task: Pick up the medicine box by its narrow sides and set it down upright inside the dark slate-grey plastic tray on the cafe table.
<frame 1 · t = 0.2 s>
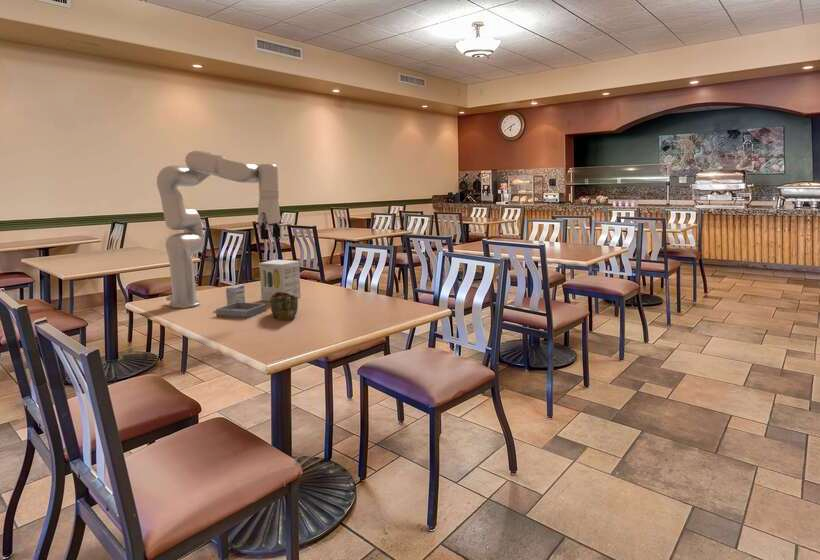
hand: (270, 238, 212), 31 cm above the table, fingers open, 9 cm apart
cup: (283, 317, 209), on the table
supplement box: (281, 299, 244), on the table
tray: (241, 313, 214), on the table
medicine box: (236, 306, 229), on the table
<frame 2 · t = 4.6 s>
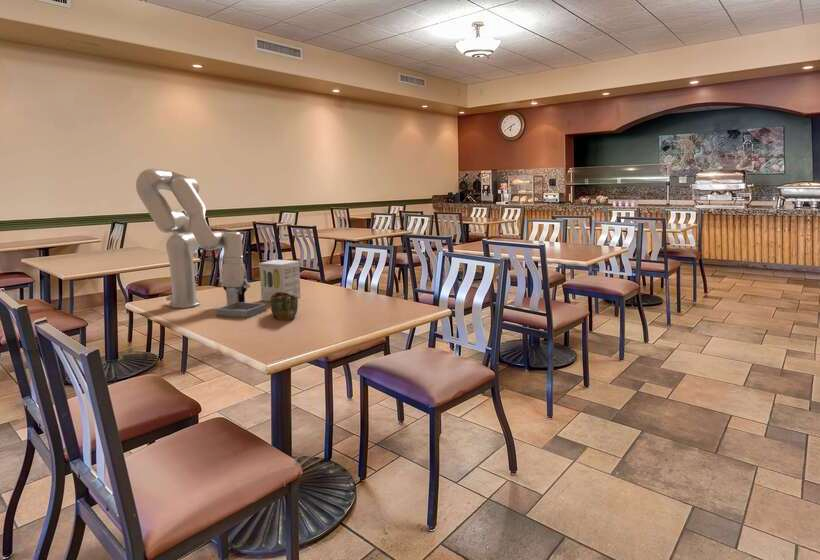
hand: (236, 301, 228), 2 cm above the table, fingers closed on medicine box, 4 cm apart
medicine box: (236, 306, 229), on the table, touching gripper
everything else where it was.
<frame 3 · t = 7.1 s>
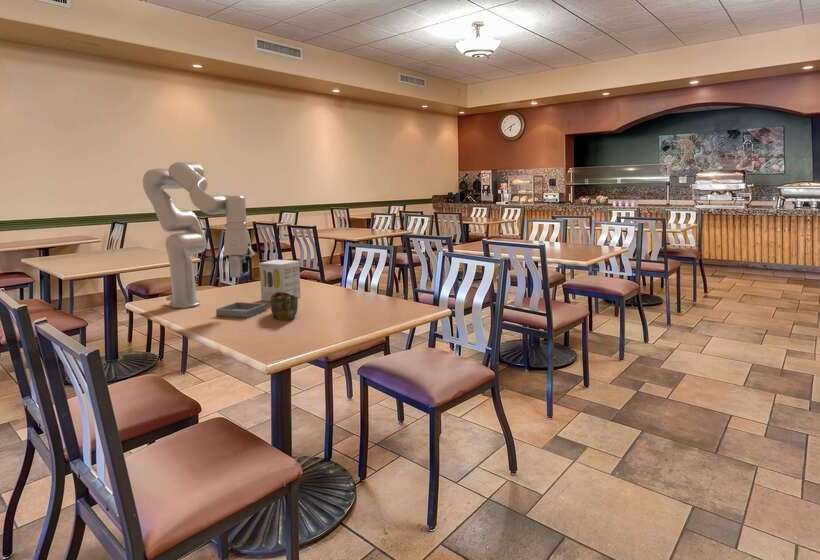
hand: (239, 271, 212), 18 cm above the table, fingers closed on medicine box, 4 cm apart
medicine box: (239, 276, 212), point 15 cm above the table, touching gripper
everything else where it was.
when the fingers open (4 cm above the table, at t = 10.0 s): medicine box drops 2 cm, resting on tray.
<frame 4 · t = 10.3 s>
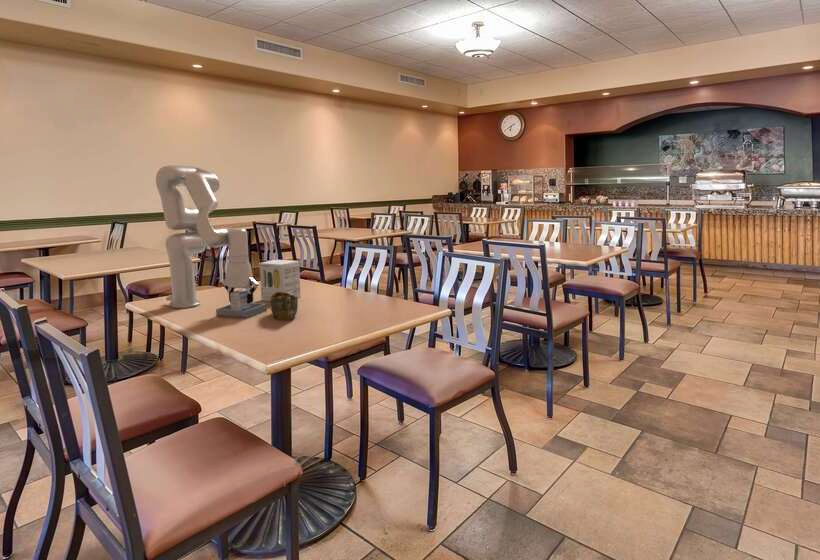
hand: (241, 301, 214), 5 cm above the table, fingers open, 7 cm apart
medicine box: (241, 312, 214), point 1 cm above the table, touching tray
everything else where it was.
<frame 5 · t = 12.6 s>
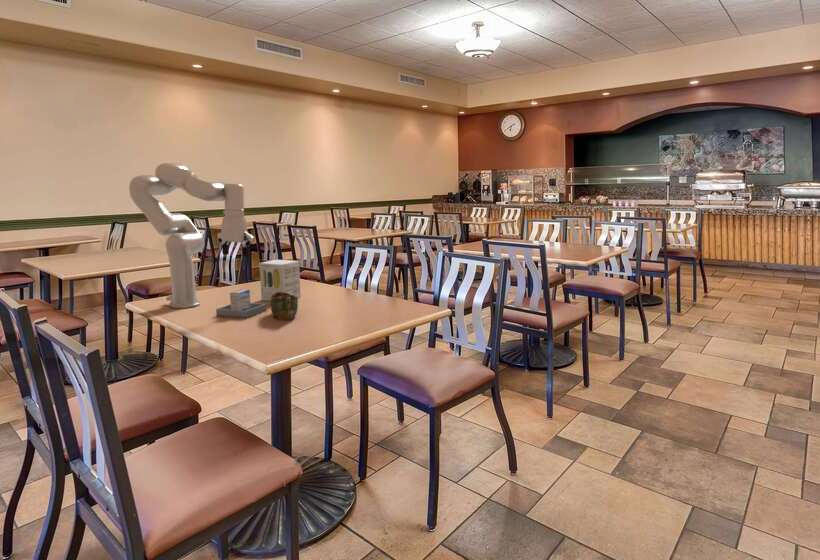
hand: (235, 255, 218), 23 cm above the table, fingers open, 9 cm apart
nothing on the table moved.
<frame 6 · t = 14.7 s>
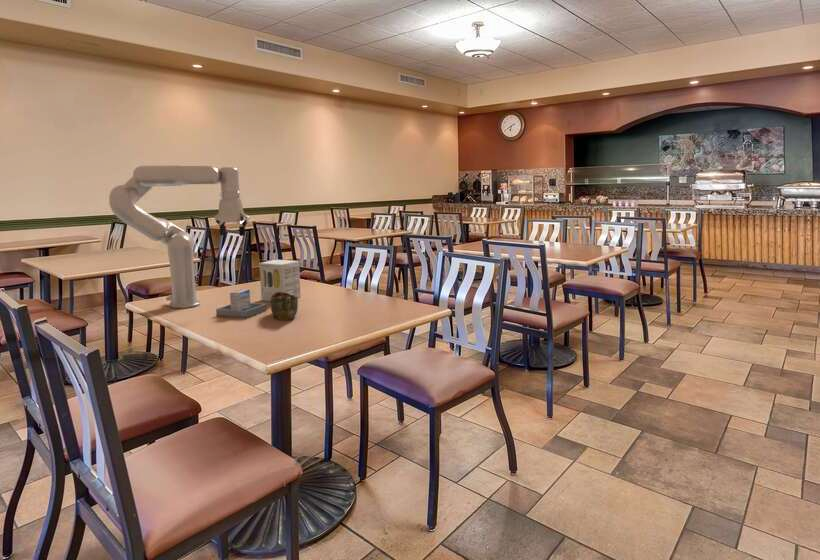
hand: (232, 235, 230), 30 cm above the table, fingers open, 9 cm apart
nothing on the table moved.
at the end: medicine box inside the target area on the tray (0.4 cm from its centre), point 0.6 cm above the tray's base; medicine box tilted 0°; the gripper is holding nothing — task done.
